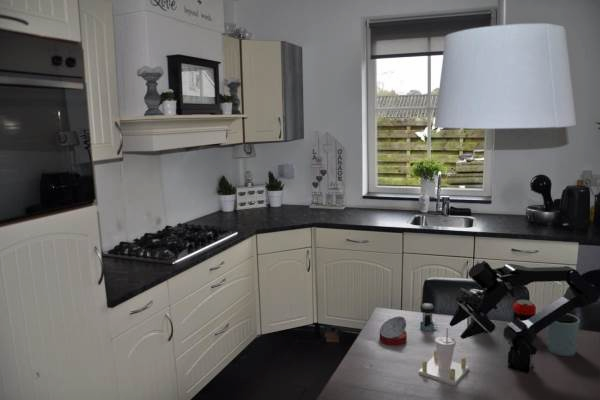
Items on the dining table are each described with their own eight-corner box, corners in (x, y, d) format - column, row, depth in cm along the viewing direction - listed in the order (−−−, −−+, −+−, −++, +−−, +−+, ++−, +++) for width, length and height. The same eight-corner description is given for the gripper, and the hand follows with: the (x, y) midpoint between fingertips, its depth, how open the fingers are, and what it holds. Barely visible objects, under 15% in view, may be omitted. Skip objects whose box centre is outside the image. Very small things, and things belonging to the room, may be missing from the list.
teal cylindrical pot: (579, 358, 168) (582, 325, 166) (546, 354, 171) (548, 321, 169) (574, 345, 177) (576, 313, 175) (542, 341, 181) (544, 310, 178)
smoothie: (449, 375, 157) (450, 333, 155) (430, 369, 162) (431, 328, 159) (458, 367, 162) (459, 326, 160) (439, 361, 166) (440, 321, 164)
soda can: (513, 336, 186) (514, 305, 184) (511, 327, 193) (513, 297, 191) (535, 338, 183) (537, 307, 181) (533, 329, 190) (534, 299, 188)
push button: (435, 326, 196) (436, 301, 194) (439, 332, 191) (440, 307, 189) (418, 326, 196) (419, 302, 194) (422, 332, 191) (422, 307, 189)
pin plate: (469, 369, 163) (469, 357, 162) (455, 385, 154) (455, 373, 153) (433, 358, 170) (434, 347, 170) (418, 373, 161) (418, 362, 160)
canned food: (405, 356, 183) (409, 339, 176) (377, 351, 184) (380, 335, 178) (405, 330, 191) (409, 313, 185) (379, 326, 193) (381, 310, 187)
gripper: (462, 271, 166) (429, 304, 168) (486, 290, 148) (449, 328, 149) (484, 292, 168) (451, 325, 170) (511, 314, 150) (474, 351, 151)
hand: (455, 331), depth 160 cm, fingers open, 9 cm apart
